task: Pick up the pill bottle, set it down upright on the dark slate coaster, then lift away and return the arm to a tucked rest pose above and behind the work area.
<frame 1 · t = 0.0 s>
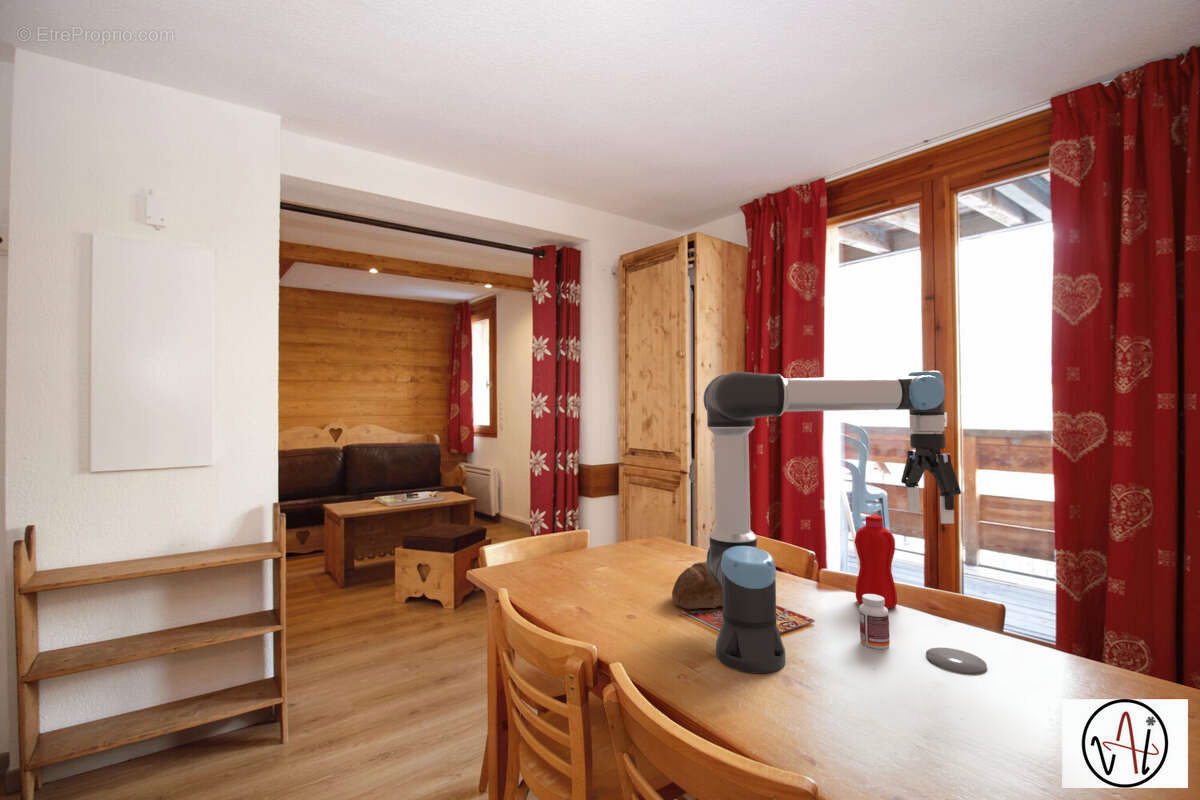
hand: (929, 517, 132), 28 cm above the table, fingers open, 13 cm apart
bread: (714, 599, 157), on the table
pill bottle: (874, 645, 124), on the table
coaster: (955, 661, 115), on the table
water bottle: (873, 604, 150), on the table
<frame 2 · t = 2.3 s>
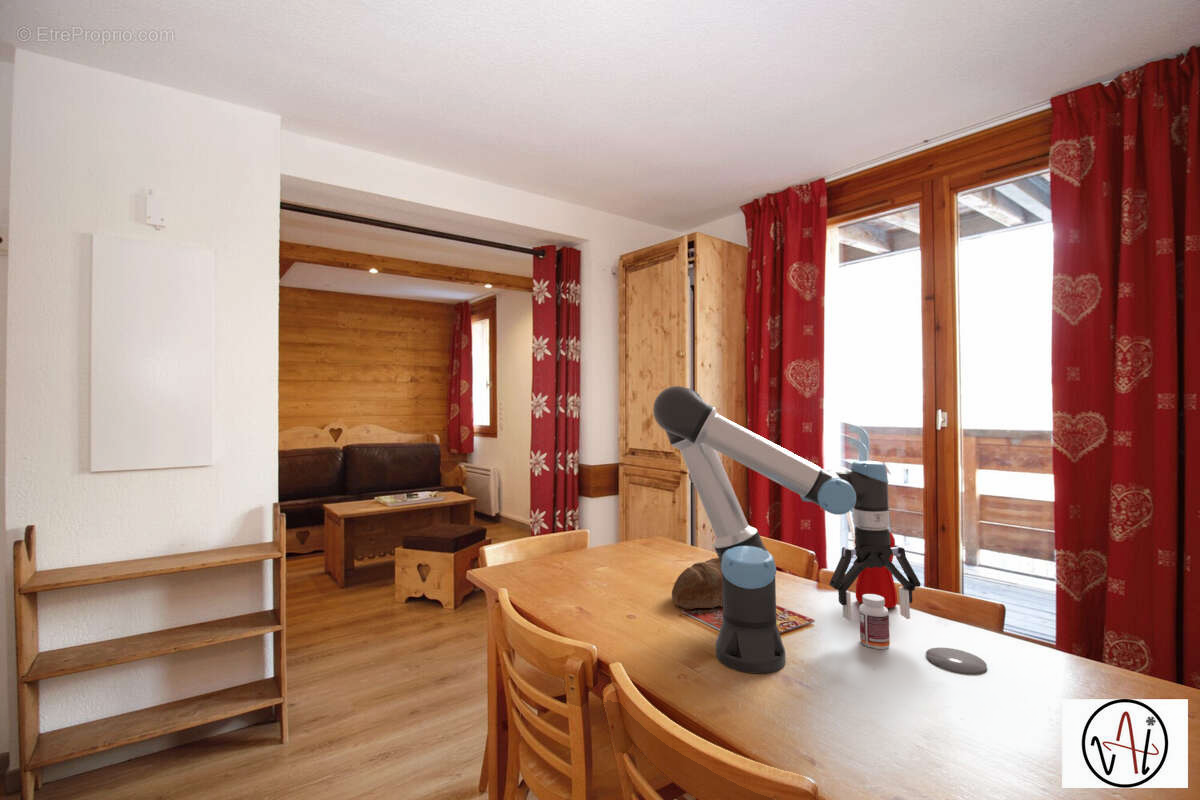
hand: (876, 617, 124), 6 cm above the table, fingers open, 13 cm apart
nothing on the table moved.
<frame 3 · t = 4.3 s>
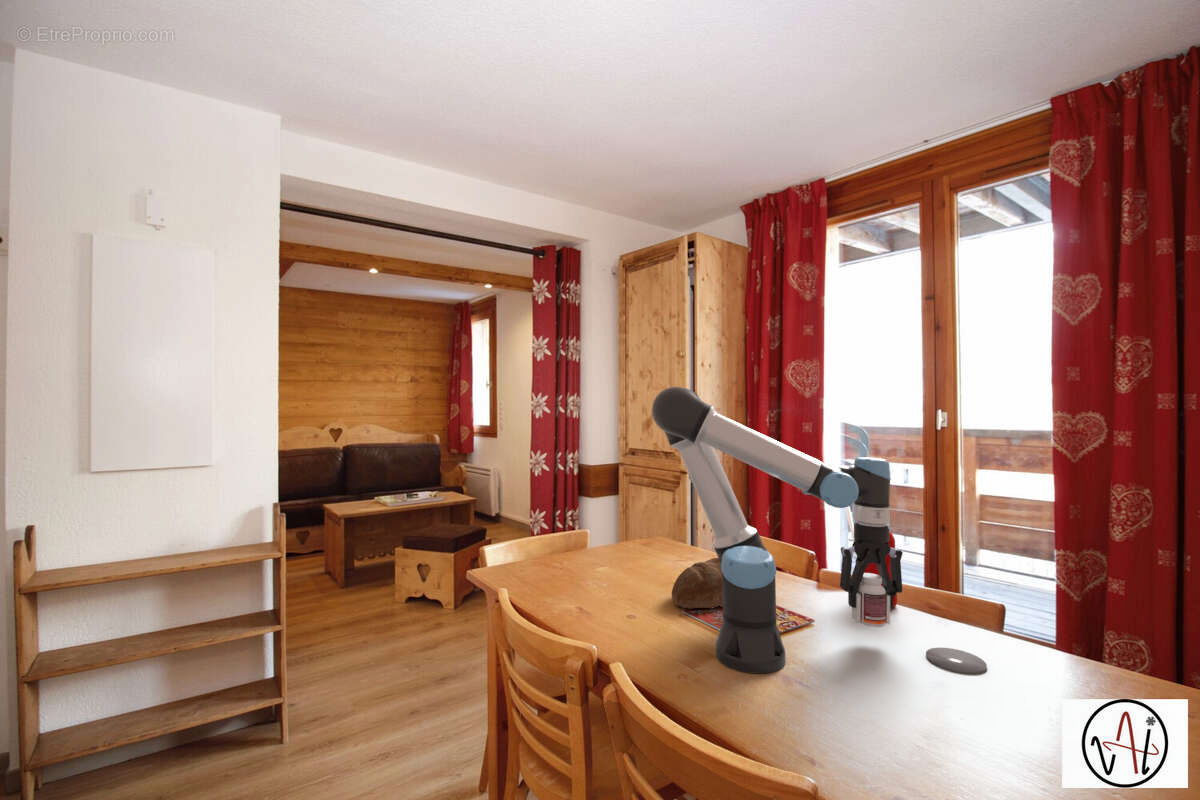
hand: (870, 621, 125), 5 cm above the table, fingers closed on pill bottle, 6 cm apart
pill bottle: (870, 623, 125), point 5 cm above the table, touching gripper
everything else where it was.
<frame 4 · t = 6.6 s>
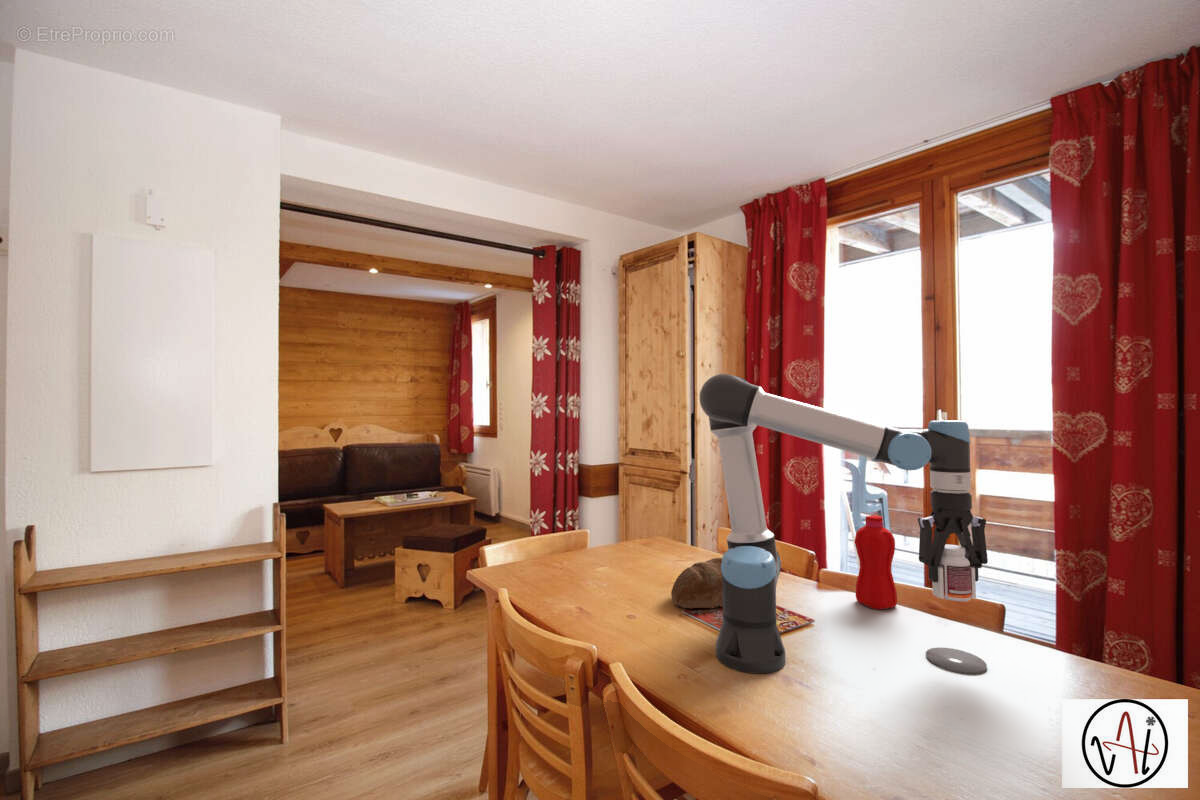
hand: (954, 596, 116), 14 cm above the table, fingers closed on pill bottle, 6 cm apart
pill bottle: (954, 598, 116), point 14 cm above the table, touching gripper
everything else where it was.
when the fingers open (2 cm above the table, at t = 9.0 s): pill bottle stays where it is, resting on coaster.
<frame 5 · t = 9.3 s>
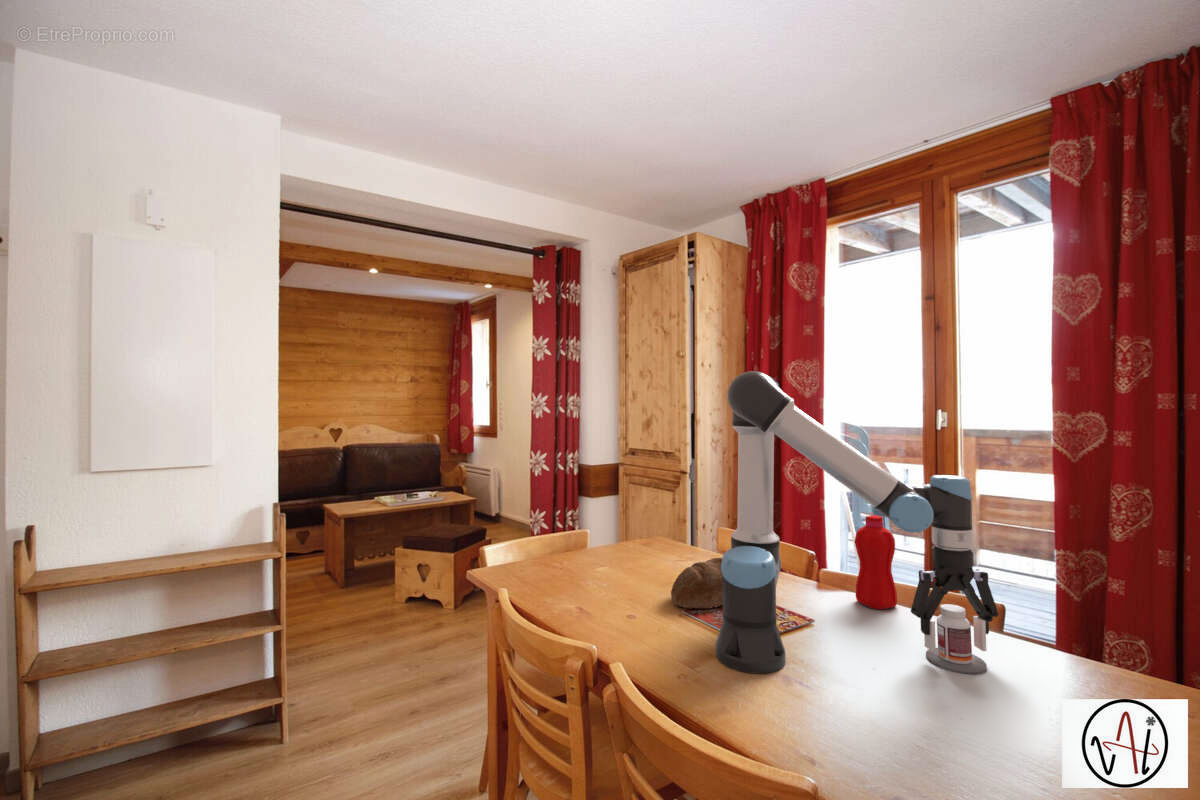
hand: (955, 648, 115), 3 cm above the table, fingers open, 10 cm apart
pill bottle: (954, 659, 115), resting on coaster
everything else where it was.
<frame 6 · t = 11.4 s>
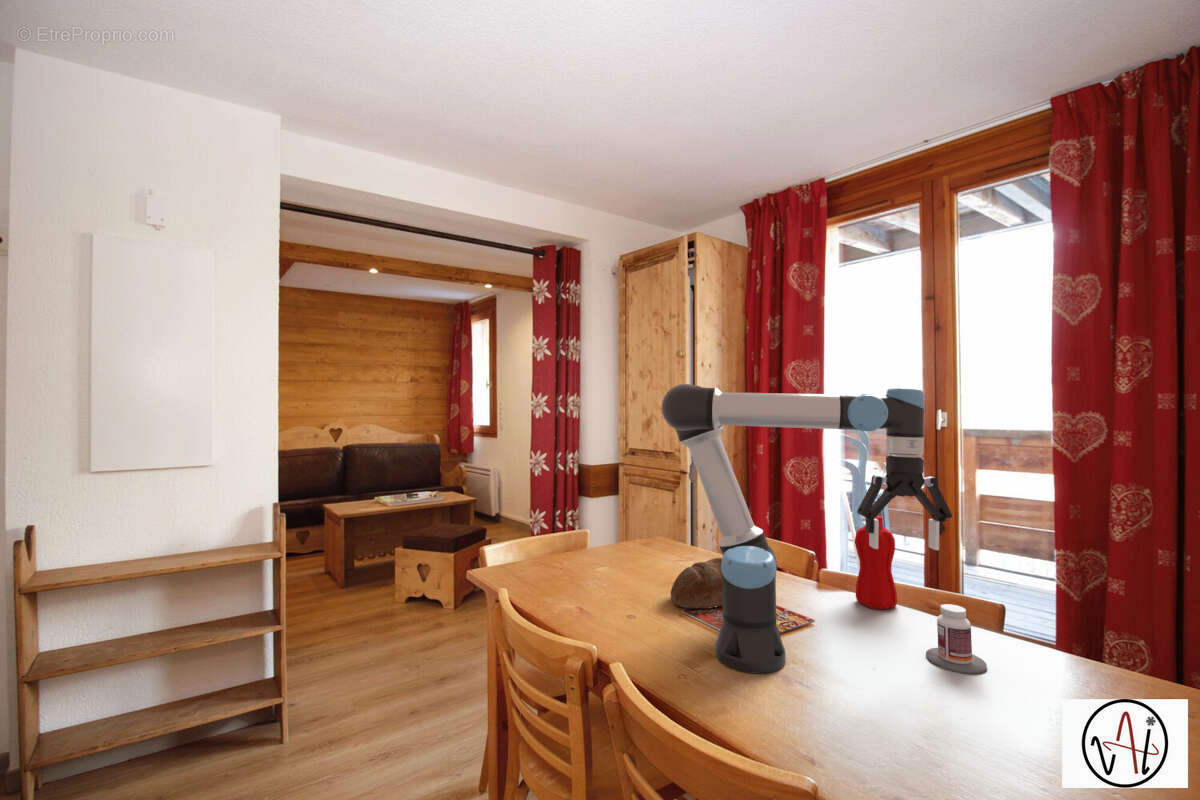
hand: (903, 548, 121), 23 cm above the table, fingers open, 13 cm apart
nothing on the table moved.
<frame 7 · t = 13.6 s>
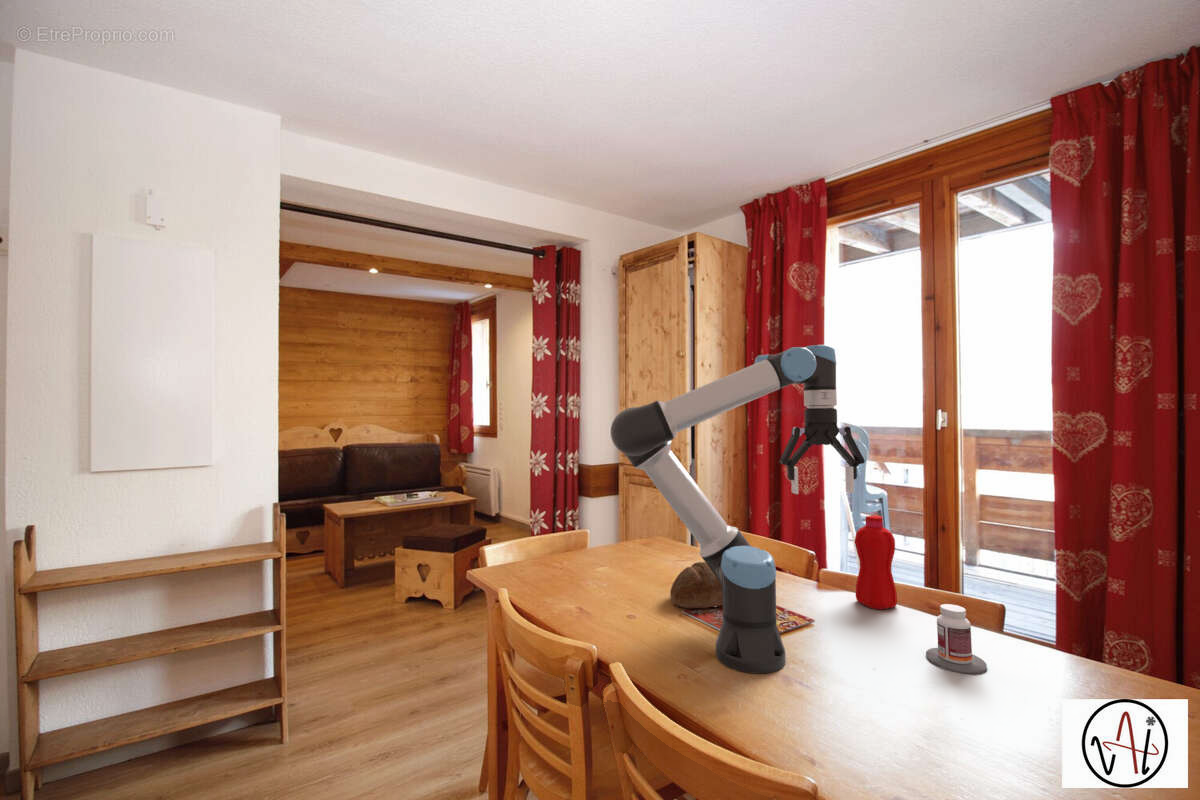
hand: (822, 493, 131), 35 cm above the table, fingers open, 13 cm apart
nothing on the table moved.
at the end: pill bottle 0.1 cm from the coaster (horizontally); pill bottle tilted 0°; the gripper is holding nothing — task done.
